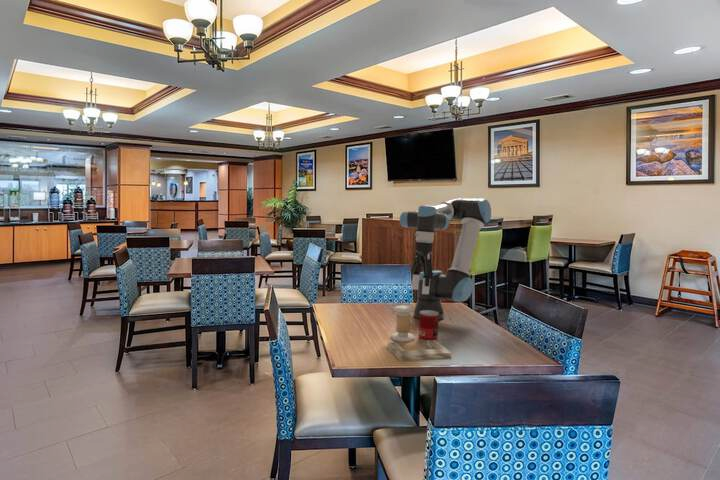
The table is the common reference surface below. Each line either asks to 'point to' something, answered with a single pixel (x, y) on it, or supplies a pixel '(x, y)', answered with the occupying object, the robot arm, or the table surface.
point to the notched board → (420, 352)
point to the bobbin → (403, 324)
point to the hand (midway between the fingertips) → (419, 291)
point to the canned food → (428, 325)
